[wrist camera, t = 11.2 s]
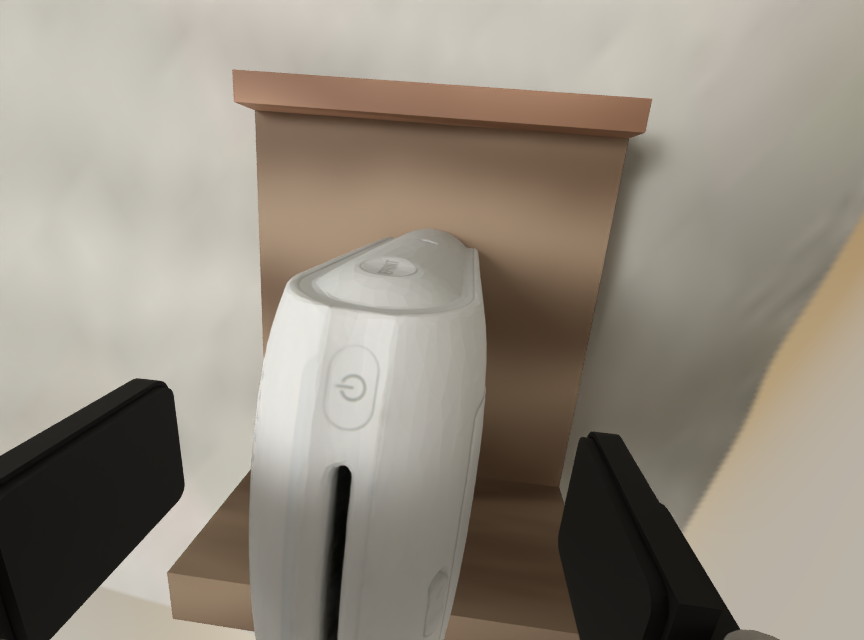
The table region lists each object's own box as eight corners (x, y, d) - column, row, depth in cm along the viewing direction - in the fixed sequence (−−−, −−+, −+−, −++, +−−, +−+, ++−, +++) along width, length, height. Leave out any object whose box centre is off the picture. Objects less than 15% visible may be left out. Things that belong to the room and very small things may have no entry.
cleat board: (287, 98, 19) (95, -3, 9) (608, 122, 18) (766, 37, 8) (292, 449, 24) (172, 618, 14) (541, 481, 23) (591, 684, 13)
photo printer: (381, 218, 17) (169, 269, 5) (488, 232, 17) (529, 320, 5) (362, 441, 20) (202, 802, 8) (453, 455, 20) (425, 848, 8)
